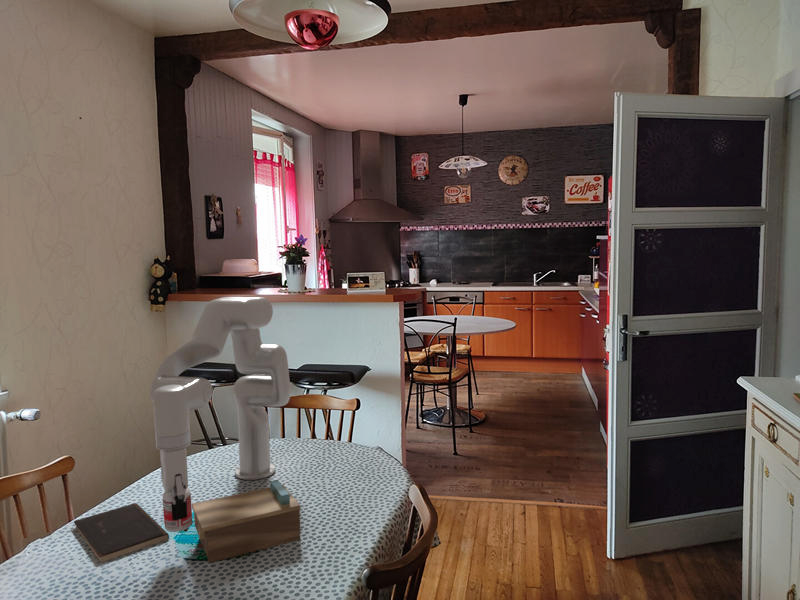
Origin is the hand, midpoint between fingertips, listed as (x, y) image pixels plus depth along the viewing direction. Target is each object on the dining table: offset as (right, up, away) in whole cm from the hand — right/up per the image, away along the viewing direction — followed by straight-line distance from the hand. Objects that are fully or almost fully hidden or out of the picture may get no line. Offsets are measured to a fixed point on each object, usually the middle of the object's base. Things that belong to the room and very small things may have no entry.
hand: (177, 511), depth 136 cm
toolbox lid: (+14, -5, +7) cm, 17 cm away
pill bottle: (0, -4, 0) cm, 4 cm away
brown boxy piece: (+15, -10, +8) cm, 20 cm away
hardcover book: (-19, -11, +12) cm, 25 cm away
